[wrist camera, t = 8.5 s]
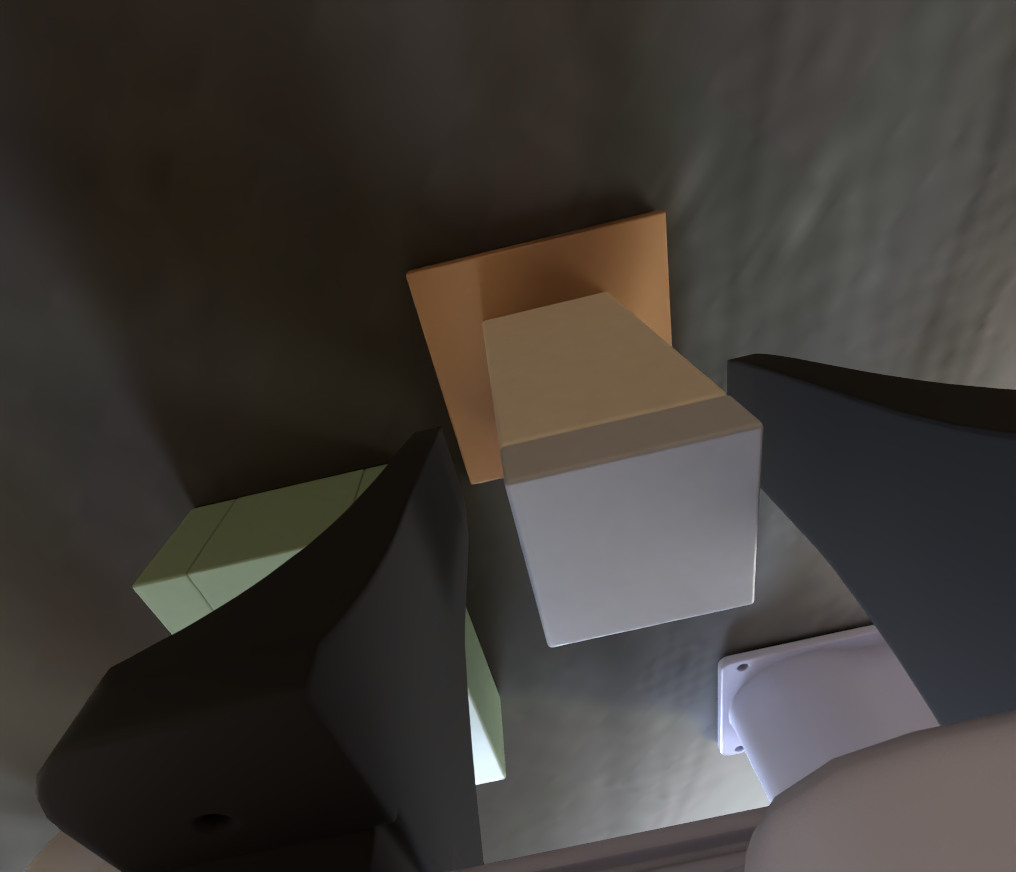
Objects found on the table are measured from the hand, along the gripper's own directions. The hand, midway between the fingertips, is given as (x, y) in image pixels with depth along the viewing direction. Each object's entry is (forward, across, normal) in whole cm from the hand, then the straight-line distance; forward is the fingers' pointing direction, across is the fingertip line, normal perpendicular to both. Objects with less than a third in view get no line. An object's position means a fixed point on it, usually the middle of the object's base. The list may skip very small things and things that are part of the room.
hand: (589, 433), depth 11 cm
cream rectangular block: (+4, 0, 0) cm, 4 cm away
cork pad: (+5, 0, 0) cm, 5 cm away
